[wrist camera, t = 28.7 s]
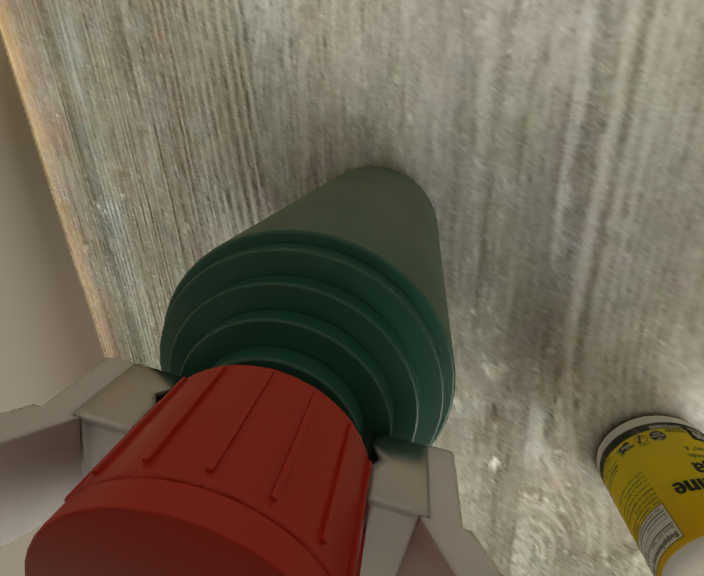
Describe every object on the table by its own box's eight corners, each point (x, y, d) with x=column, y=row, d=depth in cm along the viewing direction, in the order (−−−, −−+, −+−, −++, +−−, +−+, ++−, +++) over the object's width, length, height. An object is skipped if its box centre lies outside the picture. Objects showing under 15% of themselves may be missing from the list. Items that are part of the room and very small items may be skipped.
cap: (324, 566, 8) (278, 763, 6) (140, 483, 8) (12, 645, 5) (412, 425, 6) (403, 614, 4) (183, 321, 6) (30, 447, 4)
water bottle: (336, 144, 21) (-43, 224, 4) (461, 198, 21) (616, 512, 4) (294, 262, 24) (-33, 604, 7) (404, 310, 24) (353, 775, 7)
